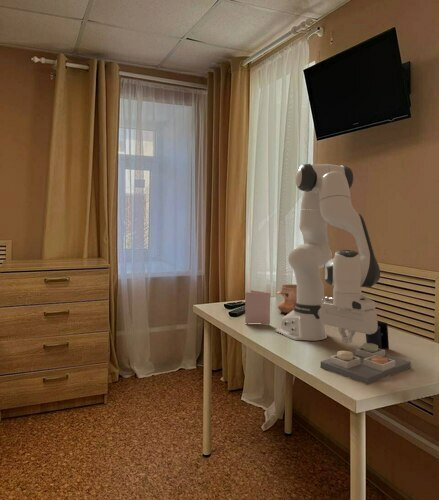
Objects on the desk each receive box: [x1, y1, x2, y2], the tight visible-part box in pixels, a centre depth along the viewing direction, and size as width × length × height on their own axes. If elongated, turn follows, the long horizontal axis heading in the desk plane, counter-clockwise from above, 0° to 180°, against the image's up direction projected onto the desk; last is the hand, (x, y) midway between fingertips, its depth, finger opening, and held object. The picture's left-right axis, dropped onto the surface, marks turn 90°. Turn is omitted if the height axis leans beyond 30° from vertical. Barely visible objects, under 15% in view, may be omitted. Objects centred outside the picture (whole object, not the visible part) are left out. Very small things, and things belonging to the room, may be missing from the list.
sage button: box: [362, 342, 378, 353], centre depth 147 cm, size 5×5×2 cm
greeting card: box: [244, 290, 271, 325], centre depth 197 cm, size 11×7×15 cm, turn 47°
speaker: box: [365, 320, 390, 350], centre depth 162 cm, size 8×6×10 cm
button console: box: [319, 346, 412, 386], centre depth 141 cm, size 18×24×4 cm
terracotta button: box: [371, 356, 388, 364], centre depth 137 cm, size 5×5×2 cm
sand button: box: [336, 350, 353, 362], centre depth 139 cm, size 5×5×2 cm
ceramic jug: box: [276, 283, 297, 315], centre depth 220 cm, size 18×14×14 cm
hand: (346, 342), depth 138 cm, fingers closed
